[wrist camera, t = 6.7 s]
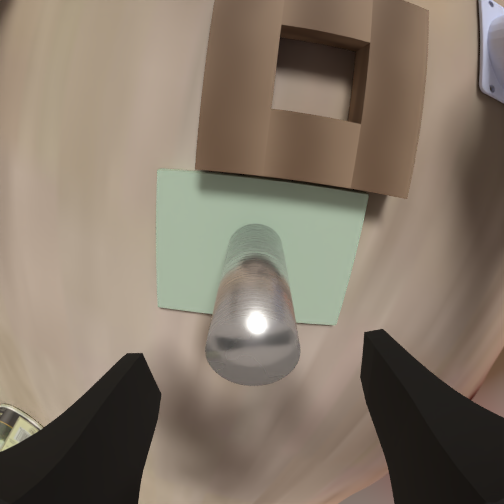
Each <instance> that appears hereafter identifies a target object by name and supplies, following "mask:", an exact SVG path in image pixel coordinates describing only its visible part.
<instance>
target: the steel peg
mask: <svg viewBox="0 0 504 504" xmlns="http://www.w3.org/2000/svg"><path fill="white" fill-rule="evenodd" d="M205 352H206V357H207V360H208V362H209V364H210V366H211V367H212V369H213V370H214V371H215V372H216V373H217V374H219V375H220V376H221V377H223V378H225V379H227V380H229V381H231V382H234V383H237V384H241V385H248V386H258V385H266V384H270V383H273V382H276V381H278V380H280V379H282V378H284V377H285V376H287V375H288V374H289V373H290V372H291V371H292V370H293V369H294V368H295V366H296V365H297V363H298V360H299V357H300V344H299V338H298V331H297V325H296V319H295V313H294V307H293V301H292V296H291V290H290V284H289V278H288V273H287V267H286V262H285V256H284V251H283V245H282V241H281V239H280V237H279V235H278V234H277V233H276V232H275V231H274V230H273V229H271V228H270V227H268V226H266V225H262V224H248V225H245V226H242V227H241V228H239V229H238V230H236V231H235V232H234V233H233V235H232V236H231V238H230V240H229V243H228V248H227V252H226V256H225V261H224V265H223V269H222V274H221V278H220V283H219V287H218V292H217V296H216V301H215V305H214V310H213V314H212V319H211V324H210V328H209V333H208V337H207V342H206V348H205Z"/></svg>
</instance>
